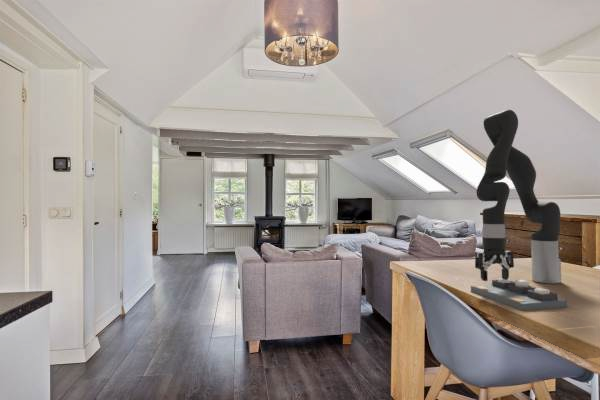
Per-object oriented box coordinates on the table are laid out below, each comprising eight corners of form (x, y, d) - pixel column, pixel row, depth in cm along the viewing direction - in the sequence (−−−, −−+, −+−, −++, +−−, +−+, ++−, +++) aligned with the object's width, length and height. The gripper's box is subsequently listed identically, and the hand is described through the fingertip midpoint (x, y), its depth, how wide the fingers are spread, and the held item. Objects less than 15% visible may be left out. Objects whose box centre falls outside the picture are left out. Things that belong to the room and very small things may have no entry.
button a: (505, 283, 129) (504, 277, 129) (513, 285, 125) (513, 280, 125) (495, 283, 128) (495, 278, 128) (503, 286, 124) (503, 280, 124)
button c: (542, 293, 113) (541, 287, 113) (552, 297, 109) (552, 290, 109) (531, 294, 113) (531, 288, 113) (542, 297, 109) (542, 291, 109)
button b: (522, 285, 121) (522, 279, 121) (531, 287, 117) (531, 281, 117) (512, 285, 120) (512, 280, 120) (521, 288, 117) (521, 282, 117)
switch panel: (508, 288, 131) (507, 278, 132) (567, 306, 108) (566, 294, 108) (470, 291, 129) (470, 280, 129) (523, 310, 105) (522, 297, 105)
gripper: (503, 234, 131) (503, 276, 131) (469, 235, 129) (470, 278, 129) (518, 236, 124) (519, 281, 124) (483, 237, 121) (484, 283, 121)
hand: (494, 279), depth 126 cm, fingers open, 8 cm apart
